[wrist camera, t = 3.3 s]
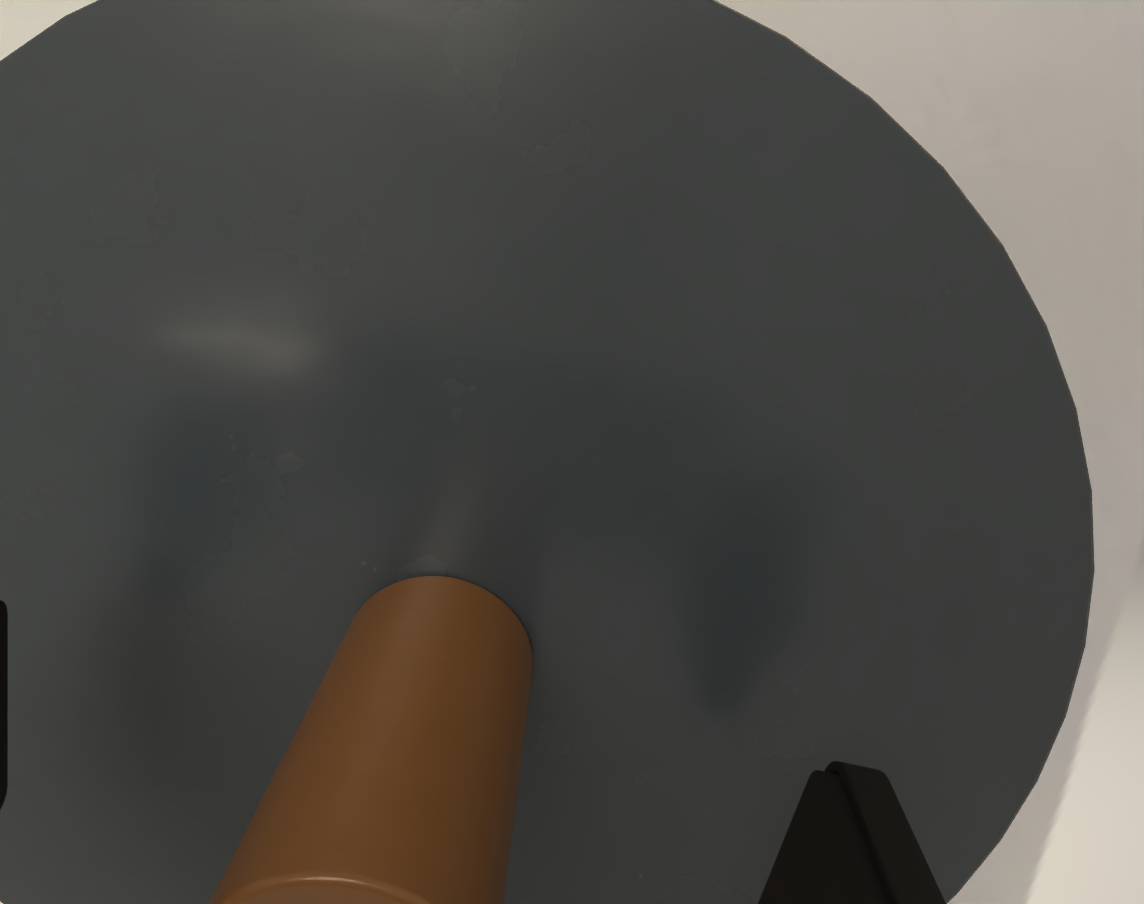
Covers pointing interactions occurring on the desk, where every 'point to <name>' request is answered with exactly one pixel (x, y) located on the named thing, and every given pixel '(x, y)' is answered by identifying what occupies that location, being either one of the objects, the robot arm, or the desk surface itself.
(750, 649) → the lid
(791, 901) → the robot arm
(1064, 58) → the desk surface
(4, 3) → the desk surface
